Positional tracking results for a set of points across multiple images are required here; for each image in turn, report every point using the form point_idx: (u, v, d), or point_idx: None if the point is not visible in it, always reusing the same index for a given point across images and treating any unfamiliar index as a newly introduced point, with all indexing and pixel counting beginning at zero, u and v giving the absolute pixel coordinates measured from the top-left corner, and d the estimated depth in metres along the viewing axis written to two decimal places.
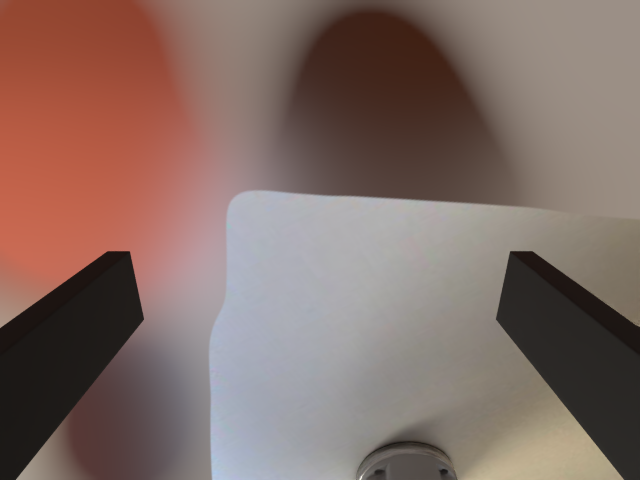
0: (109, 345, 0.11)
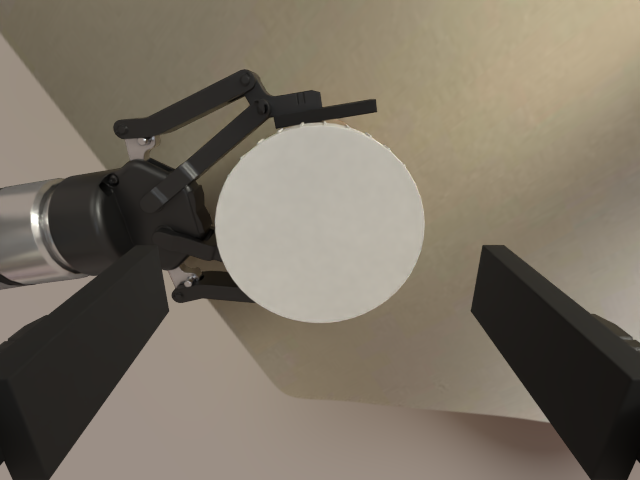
0: (140, 334, 0.11)
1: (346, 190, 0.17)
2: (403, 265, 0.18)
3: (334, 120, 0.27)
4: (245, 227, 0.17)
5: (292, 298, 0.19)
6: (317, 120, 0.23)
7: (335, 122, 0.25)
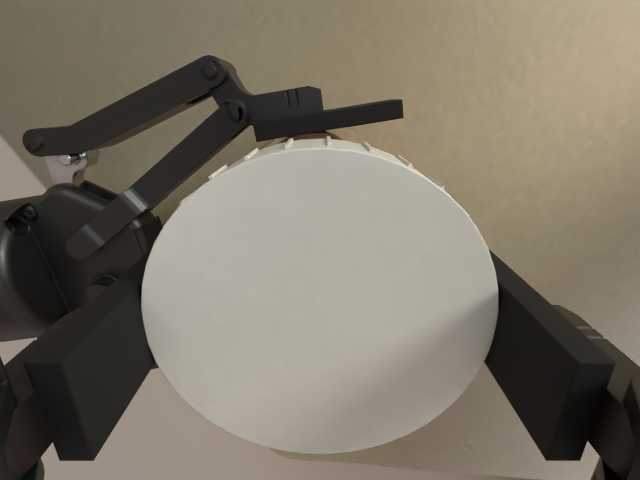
0: None
1: (366, 258, 0.10)
2: (458, 374, 0.11)
3: (340, 128, 0.20)
4: (193, 317, 0.10)
5: (275, 420, 0.12)
6: (316, 130, 0.16)
7: (342, 131, 0.18)
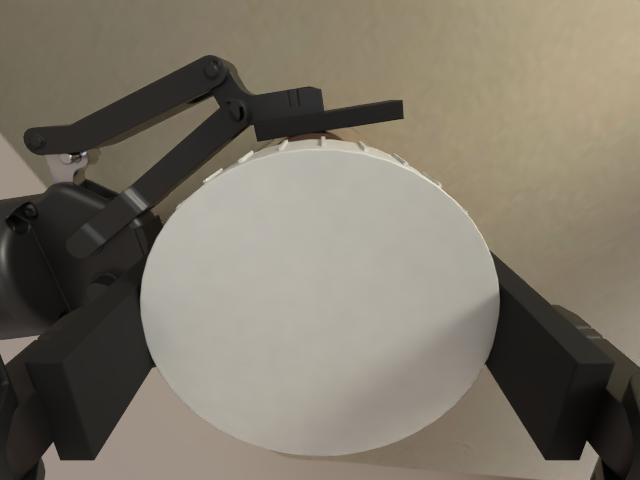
0: None
1: (231, 317, 0.10)
2: (325, 172, 0.09)
3: None
4: (346, 422, 0.12)
5: (452, 334, 0.10)
6: (317, 130, 0.16)
7: (342, 132, 0.18)
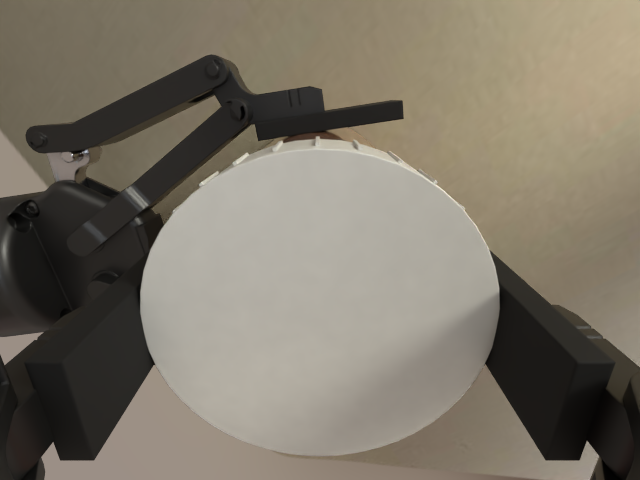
0: None
1: (333, 397, 0.11)
2: (176, 369, 0.11)
3: (340, 128, 0.20)
4: (433, 268, 0.10)
5: (273, 207, 0.09)
6: (317, 129, 0.16)
7: (342, 131, 0.18)
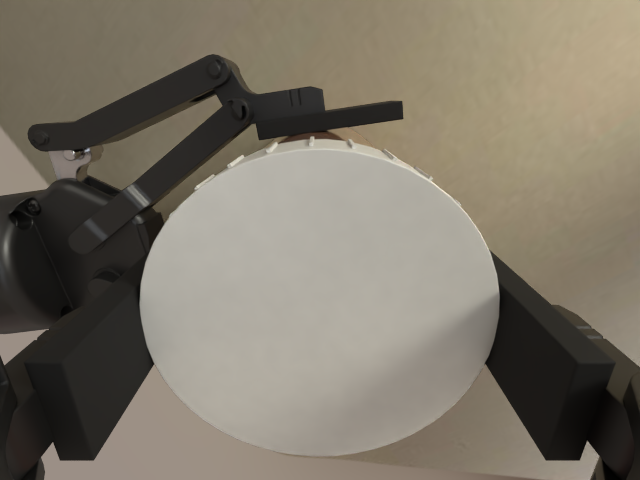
0: None
1: (400, 292, 0.10)
2: (405, 423, 0.12)
3: (340, 128, 0.21)
4: (210, 261, 0.09)
5: (221, 393, 0.11)
6: (318, 129, 0.16)
7: (342, 131, 0.18)
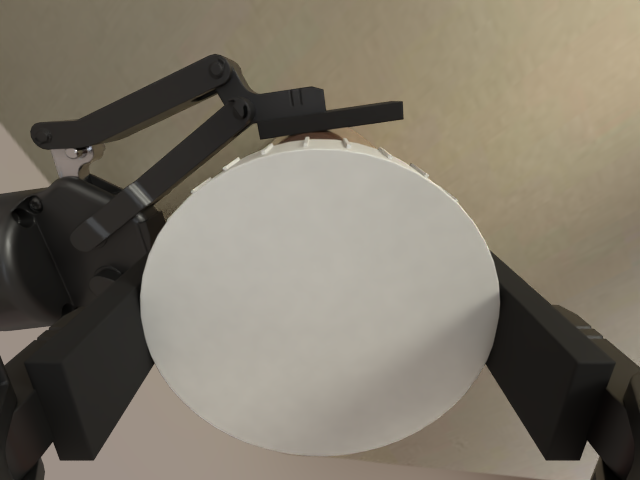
0: None
1: (248, 279, 0.10)
2: (418, 201, 0.09)
3: None
4: (286, 420, 0.11)
5: (424, 387, 0.11)
6: (319, 129, 0.16)
7: (343, 131, 0.18)
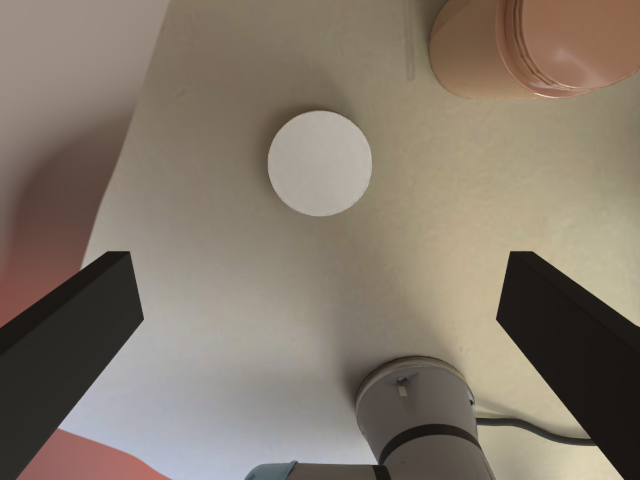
0: (109, 345, 0.11)
1: (299, 149, 0.34)
2: (346, 125, 0.33)
3: None
4: (309, 200, 0.36)
5: (352, 187, 0.36)
6: None
7: None
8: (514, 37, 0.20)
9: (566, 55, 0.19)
